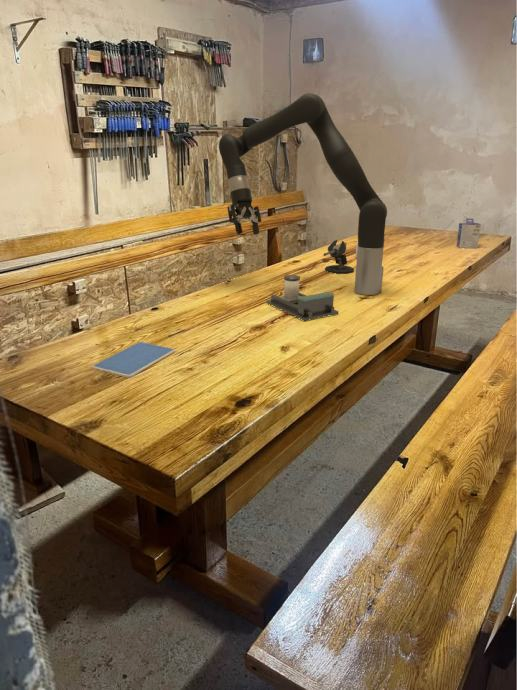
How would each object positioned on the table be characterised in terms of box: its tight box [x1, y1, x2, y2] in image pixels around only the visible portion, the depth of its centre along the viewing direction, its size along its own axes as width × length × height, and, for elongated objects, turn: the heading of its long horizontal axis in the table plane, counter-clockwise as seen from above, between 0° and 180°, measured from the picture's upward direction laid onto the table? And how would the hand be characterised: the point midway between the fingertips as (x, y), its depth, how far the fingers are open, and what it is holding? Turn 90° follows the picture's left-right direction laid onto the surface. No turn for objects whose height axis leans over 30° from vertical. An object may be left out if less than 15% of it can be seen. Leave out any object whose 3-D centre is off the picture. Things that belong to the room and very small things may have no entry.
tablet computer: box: [91, 341, 176, 379], centre depth 141 cm, size 19×13×1 cm, turn 153°
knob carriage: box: [279, 274, 301, 303], centre depth 185 cm, size 7×6×8 cm
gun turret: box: [322, 239, 355, 275], centre depth 228 cm, size 13×20×13 cm, turn 146°
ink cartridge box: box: [456, 218, 482, 249], centre depth 279 cm, size 10×6×14 cm, turn 89°
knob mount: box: [266, 291, 340, 321], centre depth 181 cm, size 14×22×7 cm, turn 32°
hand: (248, 234), depth 197 cm, fingers open, 8 cm apart
